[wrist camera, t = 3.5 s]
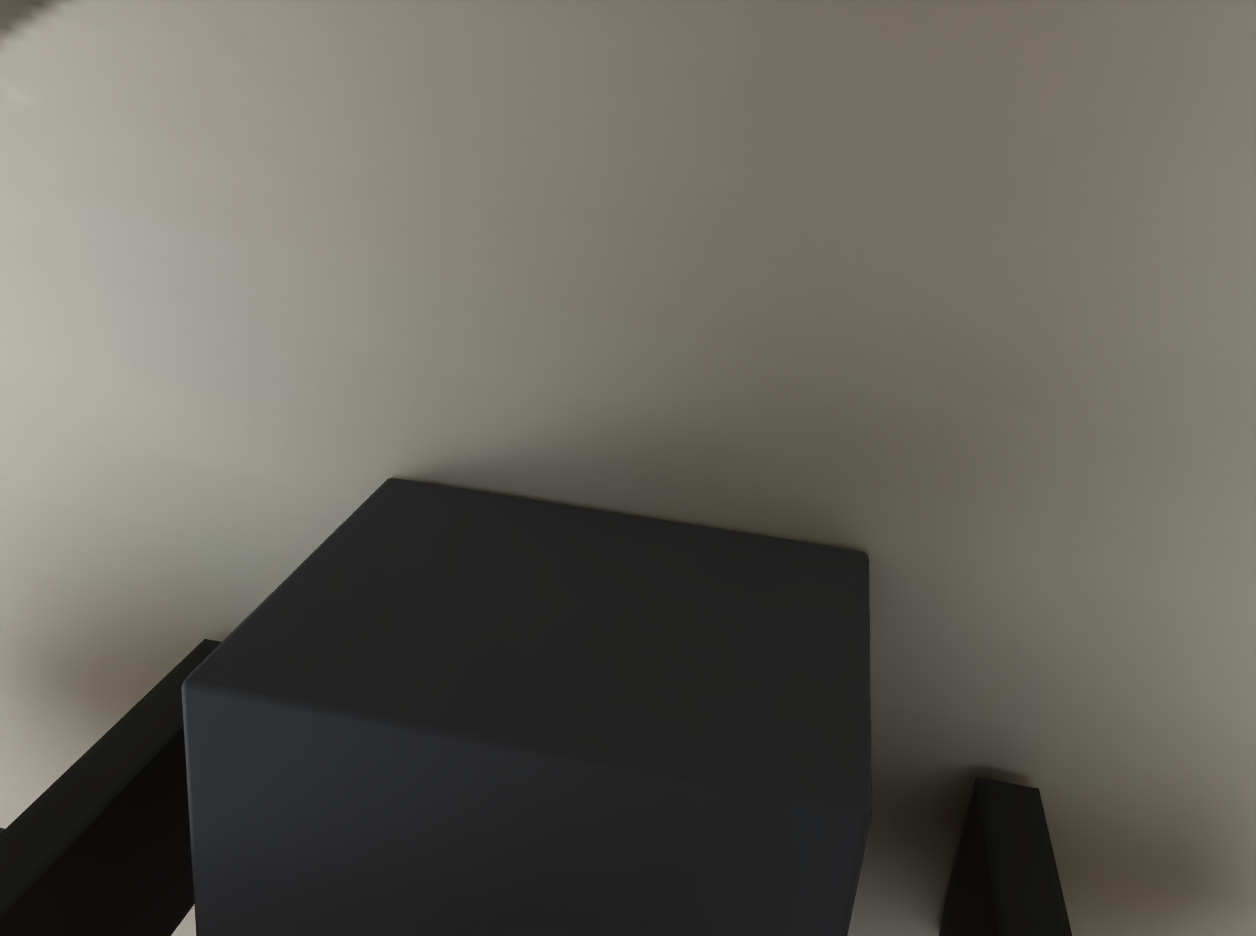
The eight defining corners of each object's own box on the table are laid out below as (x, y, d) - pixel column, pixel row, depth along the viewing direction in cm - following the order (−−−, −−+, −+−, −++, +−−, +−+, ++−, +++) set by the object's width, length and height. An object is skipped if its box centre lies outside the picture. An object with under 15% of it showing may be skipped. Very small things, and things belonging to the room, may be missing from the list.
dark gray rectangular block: (387, 474, 15) (176, 679, 10) (870, 549, 14) (873, 810, 10) (380, 965, 18) (214, 1294, 13) (778, 1051, 17) (748, 1433, 12)
